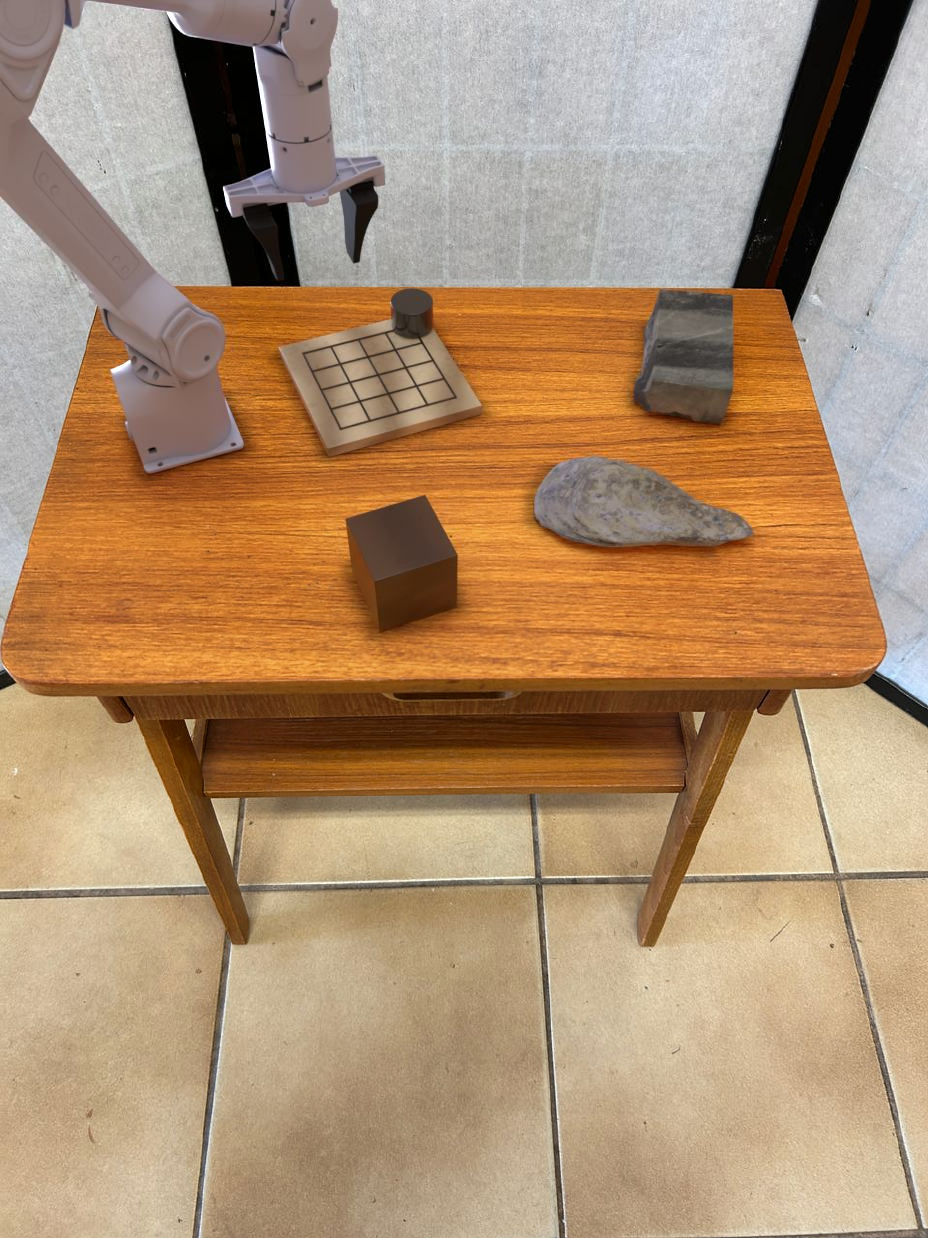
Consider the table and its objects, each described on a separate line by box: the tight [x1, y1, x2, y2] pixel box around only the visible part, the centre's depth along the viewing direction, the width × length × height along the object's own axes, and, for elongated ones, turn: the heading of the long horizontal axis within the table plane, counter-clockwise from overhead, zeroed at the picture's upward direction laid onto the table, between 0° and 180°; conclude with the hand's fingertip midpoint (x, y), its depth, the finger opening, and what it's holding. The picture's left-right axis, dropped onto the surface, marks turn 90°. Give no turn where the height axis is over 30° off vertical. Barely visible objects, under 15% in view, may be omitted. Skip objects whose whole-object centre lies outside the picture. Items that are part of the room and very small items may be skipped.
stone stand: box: [345, 494, 459, 633], centre depth 79 cm, size 7×7×7 cm
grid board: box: [278, 318, 483, 458], centre depth 96 cm, size 16×16×1 cm
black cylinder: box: [389, 287, 434, 338], centre depth 99 cm, size 4×4×3 cm
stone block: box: [632, 289, 735, 425], centre depth 97 cm, size 9×14×5 cm, turn 171°
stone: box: [533, 455, 755, 548], centre depth 86 cm, size 20×4×10 cm
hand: (316, 265), depth 93 cm, fingers open, 7 cm apart
